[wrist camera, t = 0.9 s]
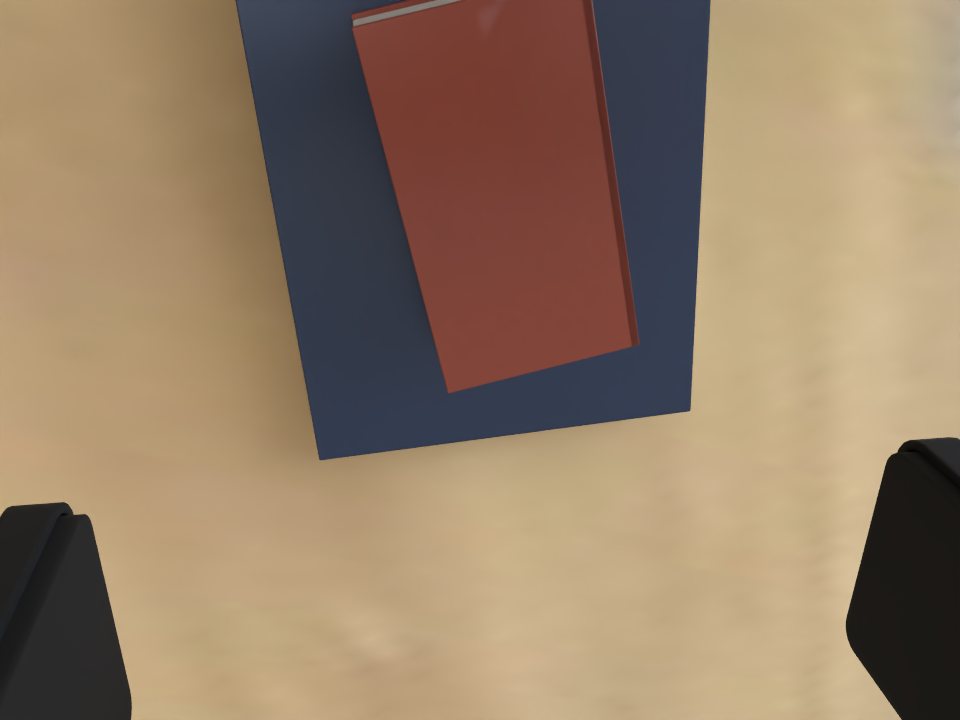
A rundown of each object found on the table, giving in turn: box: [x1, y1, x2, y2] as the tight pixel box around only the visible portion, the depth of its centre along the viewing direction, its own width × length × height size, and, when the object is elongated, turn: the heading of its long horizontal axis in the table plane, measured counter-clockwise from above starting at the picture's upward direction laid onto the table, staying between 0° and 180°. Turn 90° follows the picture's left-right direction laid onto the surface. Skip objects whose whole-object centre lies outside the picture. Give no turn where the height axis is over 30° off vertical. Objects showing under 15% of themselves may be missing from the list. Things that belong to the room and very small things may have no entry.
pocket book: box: [351, 0, 639, 393], centre depth 26 cm, size 6×11×4 cm, turn 12°
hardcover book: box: [236, 0, 711, 460], centre depth 29 cm, size 14×20×3 cm
